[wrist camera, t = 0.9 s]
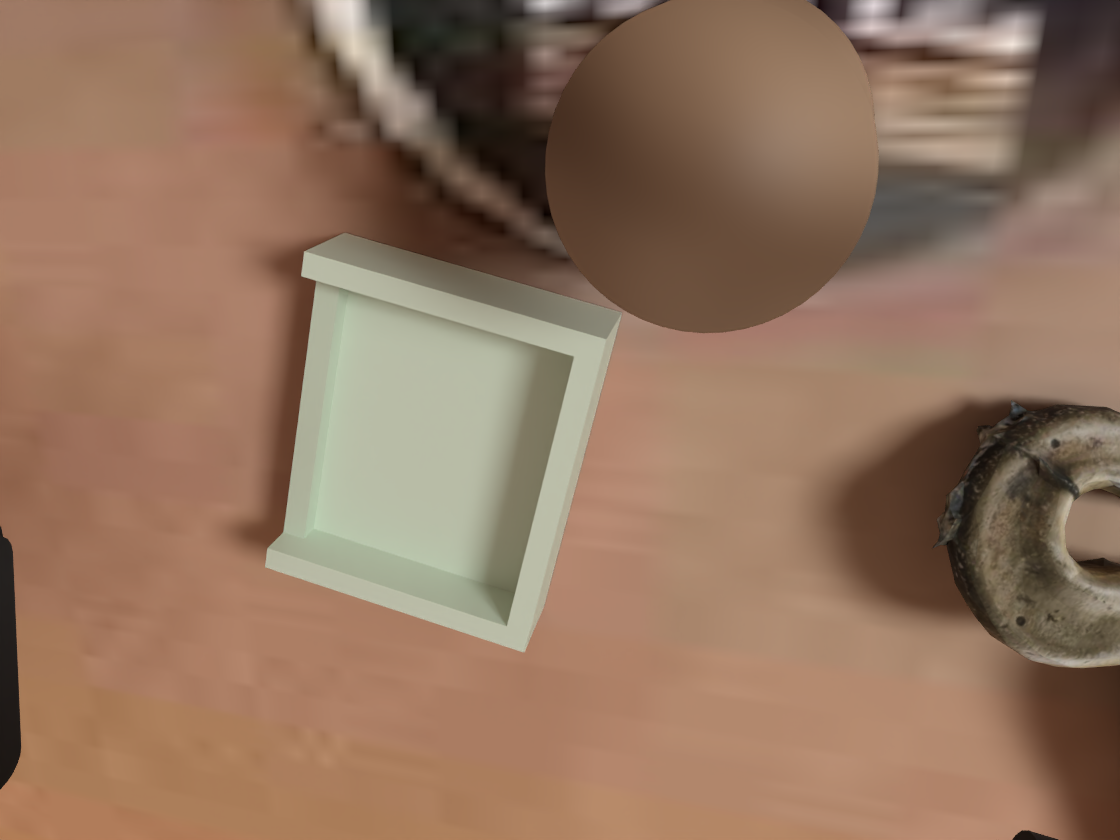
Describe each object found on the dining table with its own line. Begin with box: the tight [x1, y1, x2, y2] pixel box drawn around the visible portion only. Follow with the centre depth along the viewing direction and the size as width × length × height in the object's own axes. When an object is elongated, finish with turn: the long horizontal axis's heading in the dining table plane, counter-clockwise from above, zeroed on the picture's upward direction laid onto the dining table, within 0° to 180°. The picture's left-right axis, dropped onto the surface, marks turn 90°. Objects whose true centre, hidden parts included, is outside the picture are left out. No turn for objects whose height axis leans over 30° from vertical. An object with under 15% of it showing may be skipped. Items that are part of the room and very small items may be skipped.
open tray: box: [265, 233, 622, 652], centre depth 33 cm, size 12×10×3 cm
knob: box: [545, 0, 879, 333], centre depth 25 cm, size 8×8×9 cm
